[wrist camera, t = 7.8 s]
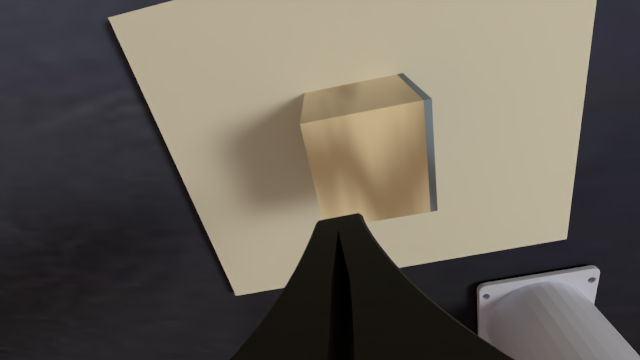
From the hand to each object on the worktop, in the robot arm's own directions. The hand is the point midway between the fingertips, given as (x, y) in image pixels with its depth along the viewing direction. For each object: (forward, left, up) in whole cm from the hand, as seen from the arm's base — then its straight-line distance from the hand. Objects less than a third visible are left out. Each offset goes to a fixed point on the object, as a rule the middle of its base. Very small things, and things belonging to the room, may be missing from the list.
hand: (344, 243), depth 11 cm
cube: (0, -4, -7) cm, 8 cm away
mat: (-1, -2, -10) cm, 10 cm away
